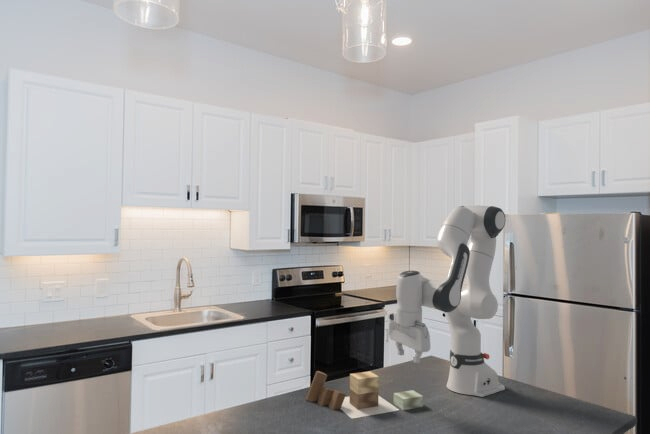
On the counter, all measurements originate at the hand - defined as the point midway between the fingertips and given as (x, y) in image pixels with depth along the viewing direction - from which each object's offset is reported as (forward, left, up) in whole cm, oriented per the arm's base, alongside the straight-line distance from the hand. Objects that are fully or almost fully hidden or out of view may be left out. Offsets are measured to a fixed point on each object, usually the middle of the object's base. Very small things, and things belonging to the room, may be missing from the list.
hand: (408, 358), depth 154 cm
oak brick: (+14, -6, -11) cm, 19 cm away
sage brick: (0, 0, -17) cm, 17 cm away
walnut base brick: (+14, -6, -16) cm, 22 cm away
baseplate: (+14, -6, -17) cm, 23 cm away
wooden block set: (+26, -15, -18) cm, 35 cm away
